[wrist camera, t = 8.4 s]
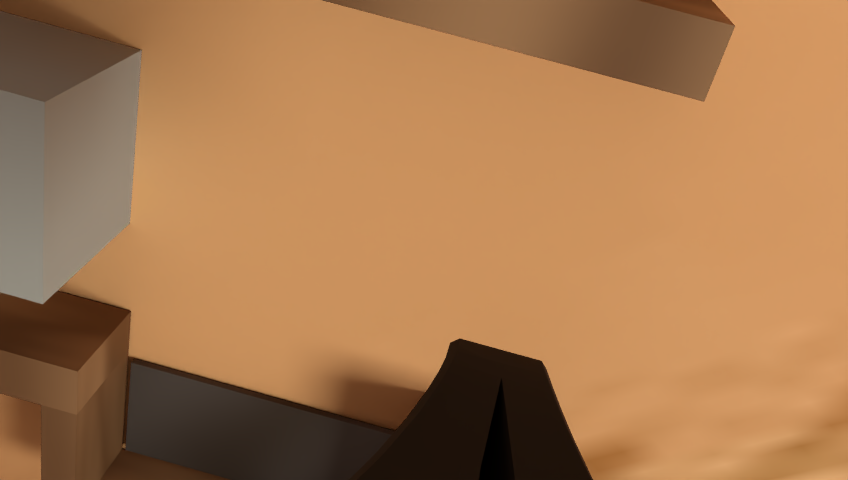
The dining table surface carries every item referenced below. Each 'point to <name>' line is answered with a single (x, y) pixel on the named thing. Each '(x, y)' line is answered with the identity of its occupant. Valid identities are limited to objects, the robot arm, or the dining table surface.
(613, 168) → the dining table surface
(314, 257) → the dining table surface
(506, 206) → the dining table surface
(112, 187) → the block
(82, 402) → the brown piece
